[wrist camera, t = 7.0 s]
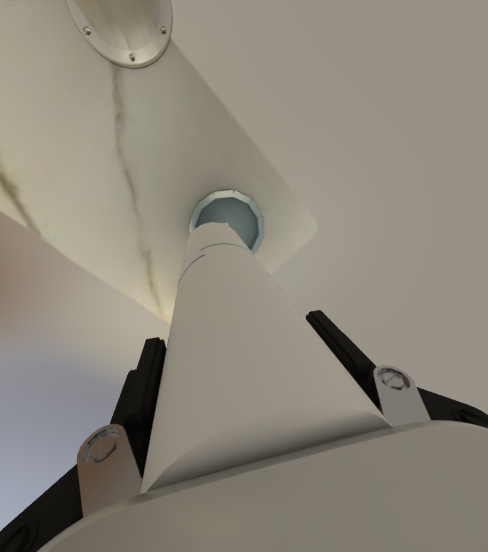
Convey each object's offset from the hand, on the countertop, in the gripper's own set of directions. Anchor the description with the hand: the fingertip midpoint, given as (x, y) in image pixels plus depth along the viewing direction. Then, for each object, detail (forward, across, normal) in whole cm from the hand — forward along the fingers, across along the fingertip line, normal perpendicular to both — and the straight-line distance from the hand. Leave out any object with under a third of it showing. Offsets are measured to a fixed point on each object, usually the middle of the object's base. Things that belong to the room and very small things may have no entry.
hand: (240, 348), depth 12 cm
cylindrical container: (+19, 0, 0) cm, 19 cm away
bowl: (+34, -3, 0) cm, 34 cm away
